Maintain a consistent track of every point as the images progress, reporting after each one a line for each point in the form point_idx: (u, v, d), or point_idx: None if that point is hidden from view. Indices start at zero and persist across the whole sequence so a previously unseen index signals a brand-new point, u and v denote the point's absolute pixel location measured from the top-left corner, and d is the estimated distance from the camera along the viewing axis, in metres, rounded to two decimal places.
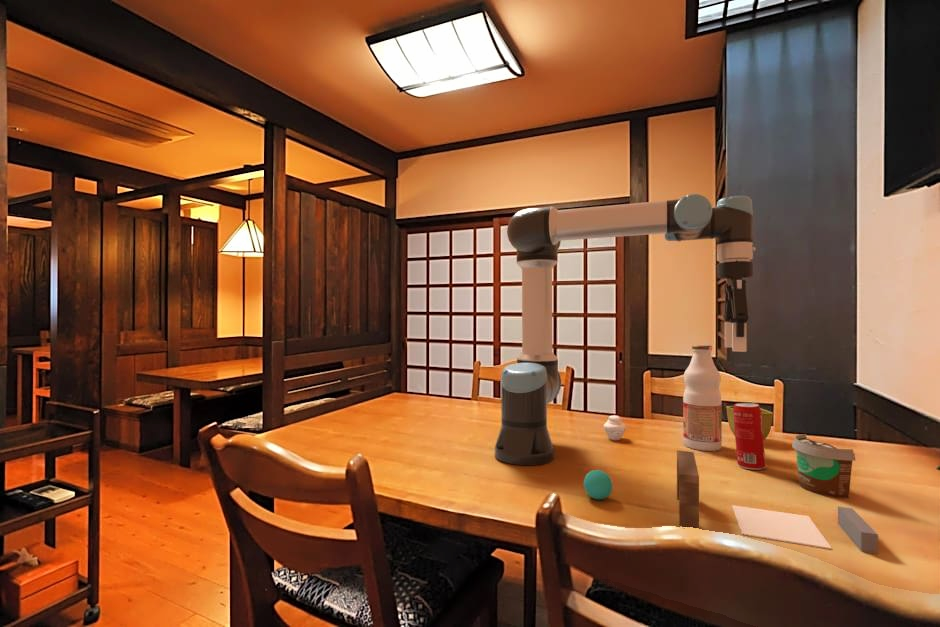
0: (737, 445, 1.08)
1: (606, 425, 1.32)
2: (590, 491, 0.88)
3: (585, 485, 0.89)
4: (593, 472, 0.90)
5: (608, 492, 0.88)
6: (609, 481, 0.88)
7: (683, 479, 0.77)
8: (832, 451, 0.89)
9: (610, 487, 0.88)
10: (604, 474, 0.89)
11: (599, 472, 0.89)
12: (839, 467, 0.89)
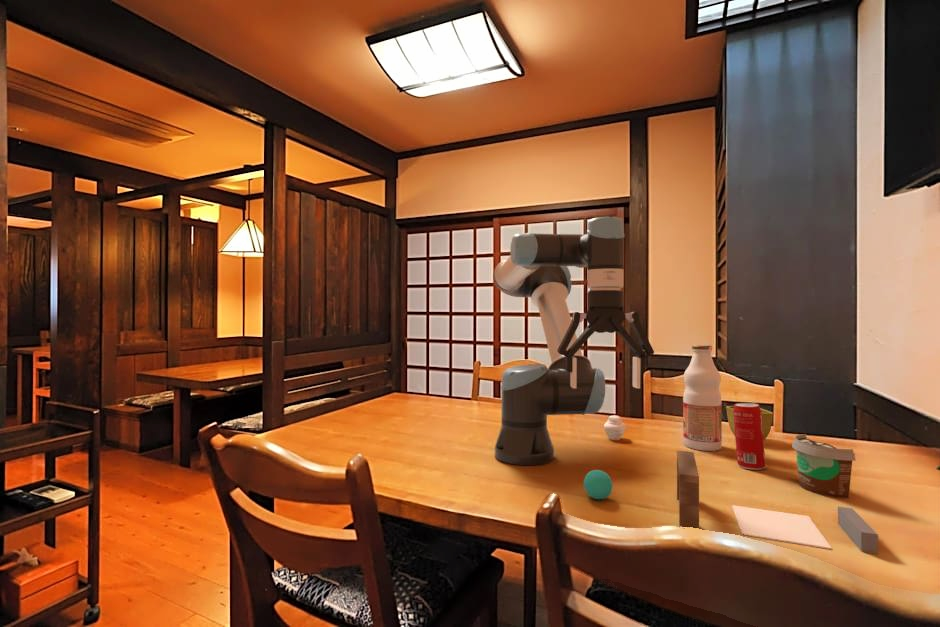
0: (737, 445, 1.08)
1: (606, 425, 1.32)
2: (590, 491, 0.88)
3: (585, 485, 0.89)
4: (593, 472, 0.90)
5: (608, 492, 0.88)
6: (609, 481, 0.88)
7: (683, 479, 0.77)
8: (832, 451, 0.89)
9: (610, 487, 0.88)
10: (604, 474, 0.89)
11: (599, 472, 0.89)
12: (839, 467, 0.89)
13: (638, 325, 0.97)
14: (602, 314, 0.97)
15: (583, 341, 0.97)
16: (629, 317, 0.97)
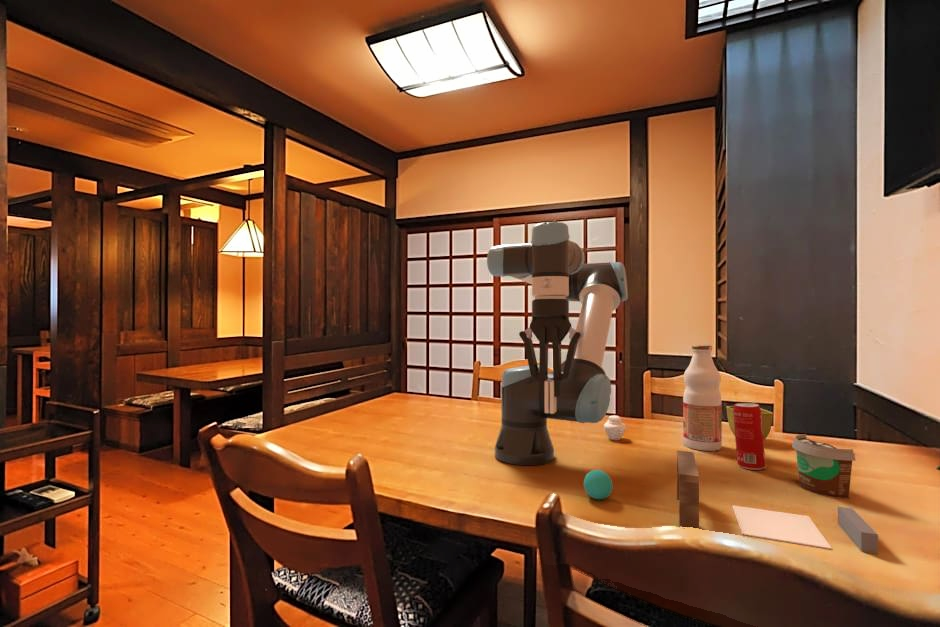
0: (737, 445, 1.08)
1: (606, 425, 1.32)
2: (590, 491, 0.88)
3: (585, 485, 0.89)
4: (593, 472, 0.90)
5: (608, 492, 0.88)
6: (609, 481, 0.88)
7: (683, 479, 0.77)
8: (832, 451, 0.89)
9: (610, 487, 0.88)
10: (604, 474, 0.89)
11: (599, 472, 0.89)
12: (839, 467, 0.89)
13: (572, 345, 0.91)
14: (541, 317, 0.93)
15: (543, 358, 0.93)
16: (571, 333, 0.91)
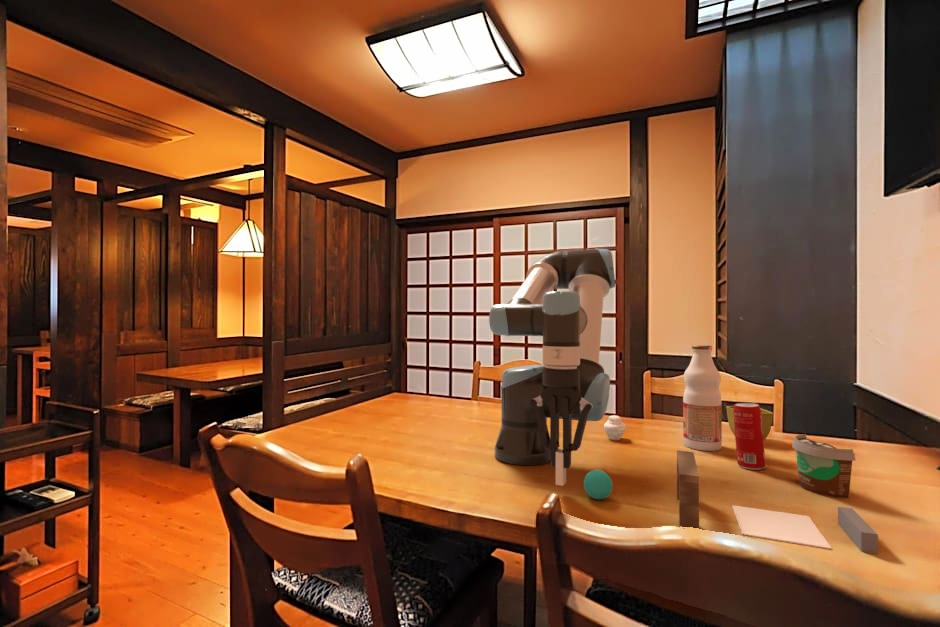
0: (737, 445, 1.08)
1: (606, 425, 1.32)
2: (590, 491, 0.88)
3: (585, 485, 0.89)
4: (593, 472, 0.90)
5: (608, 492, 0.88)
6: (609, 481, 0.88)
7: (683, 479, 0.77)
8: (832, 451, 0.89)
9: (610, 487, 0.88)
10: (604, 474, 0.89)
11: (599, 472, 0.89)
12: (839, 467, 0.89)
13: (583, 417, 0.89)
14: (551, 386, 0.92)
15: (554, 428, 0.91)
16: (582, 404, 0.90)
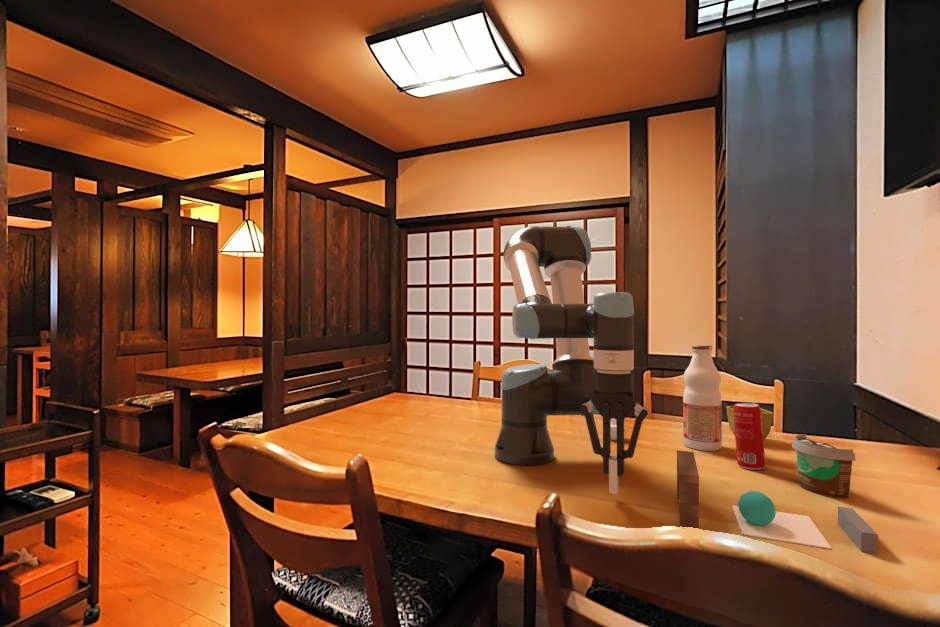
0: (737, 445, 1.08)
1: None
2: (766, 511, 0.76)
3: (773, 516, 0.76)
4: None
5: (744, 503, 0.78)
6: (740, 512, 0.79)
7: (683, 479, 0.77)
8: (832, 451, 0.89)
9: (741, 507, 0.79)
10: (746, 519, 0.79)
11: (752, 523, 0.78)
12: (839, 467, 0.89)
13: (638, 424, 0.86)
14: None
15: (607, 435, 0.88)
16: (637, 410, 0.87)
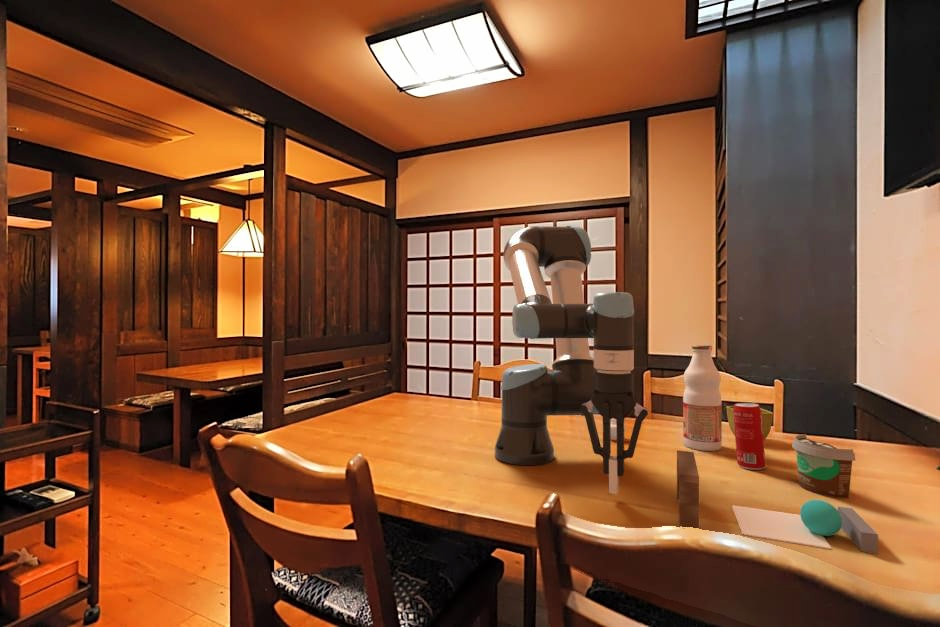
0: (737, 445, 1.08)
1: None
2: (816, 525, 0.73)
3: (808, 515, 0.74)
4: (822, 503, 0.74)
5: (837, 531, 0.73)
6: (841, 519, 0.73)
7: (683, 479, 0.77)
8: (832, 451, 0.89)
9: None
10: (836, 509, 0.74)
11: (830, 506, 0.74)
12: (839, 467, 0.89)
13: (638, 424, 0.86)
14: None
15: (607, 435, 0.88)
16: (637, 410, 0.87)
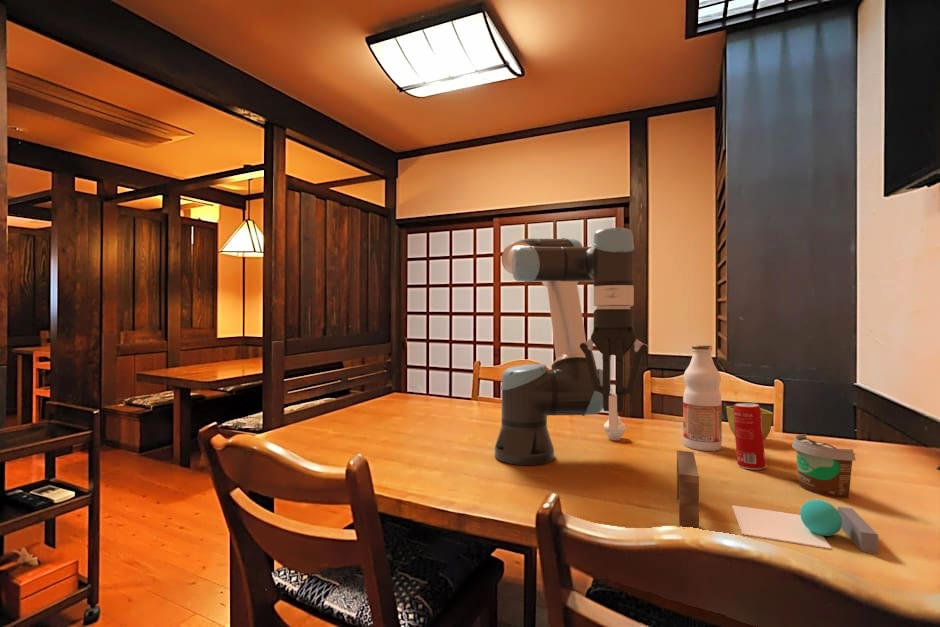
0: (737, 445, 1.08)
1: (606, 425, 1.32)
2: (816, 525, 0.73)
3: (808, 515, 0.74)
4: (822, 503, 0.74)
5: (837, 531, 0.73)
6: (841, 519, 0.73)
7: (683, 479, 0.77)
8: (832, 451, 0.89)
9: None
10: (836, 509, 0.74)
11: (830, 506, 0.74)
12: (839, 467, 0.89)
13: (638, 359, 0.86)
14: (603, 328, 0.88)
15: (607, 371, 0.88)
16: (637, 345, 0.87)
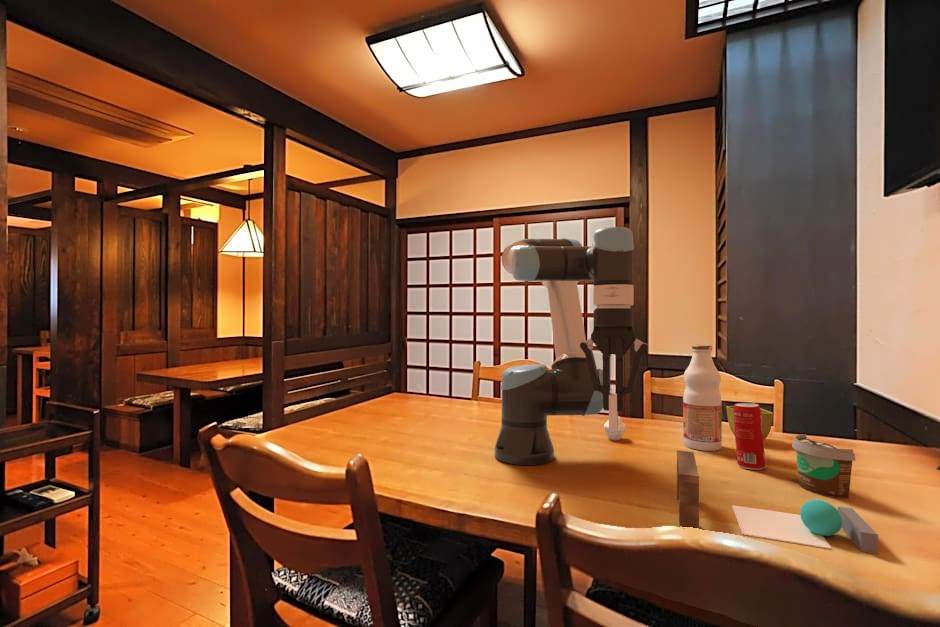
0: (737, 445, 1.08)
1: (606, 425, 1.32)
2: (816, 525, 0.73)
3: (808, 515, 0.74)
4: (822, 503, 0.74)
5: (837, 531, 0.73)
6: (841, 519, 0.73)
7: (683, 479, 0.77)
8: (832, 451, 0.89)
9: None
10: (836, 509, 0.74)
11: (830, 506, 0.74)
12: (839, 467, 0.89)
13: (638, 358, 0.86)
14: (603, 328, 0.88)
15: (607, 371, 0.88)
16: (637, 345, 0.87)
